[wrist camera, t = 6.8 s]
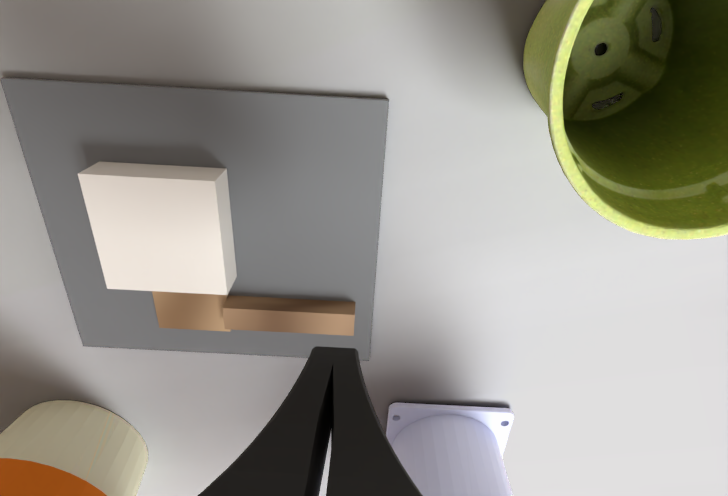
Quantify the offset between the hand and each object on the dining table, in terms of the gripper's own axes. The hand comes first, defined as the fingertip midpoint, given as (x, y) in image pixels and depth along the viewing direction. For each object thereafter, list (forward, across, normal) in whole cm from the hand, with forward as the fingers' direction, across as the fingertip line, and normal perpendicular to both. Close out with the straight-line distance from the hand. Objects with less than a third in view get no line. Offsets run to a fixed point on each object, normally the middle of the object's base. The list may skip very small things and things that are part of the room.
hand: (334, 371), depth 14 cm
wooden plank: (+10, +5, +5) cm, 12 cm away
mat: (+10, +7, +1) cm, 13 cm away
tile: (+9, +6, 0) cm, 11 cm away
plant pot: (+11, -10, -9) cm, 17 cm away
